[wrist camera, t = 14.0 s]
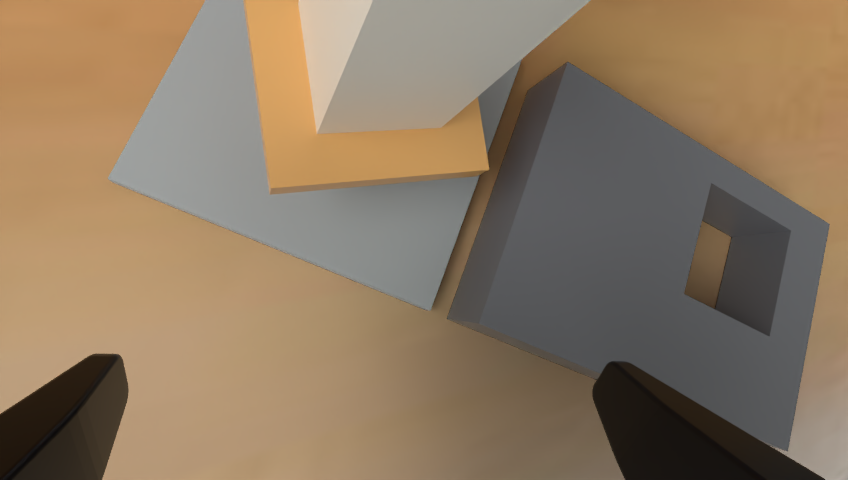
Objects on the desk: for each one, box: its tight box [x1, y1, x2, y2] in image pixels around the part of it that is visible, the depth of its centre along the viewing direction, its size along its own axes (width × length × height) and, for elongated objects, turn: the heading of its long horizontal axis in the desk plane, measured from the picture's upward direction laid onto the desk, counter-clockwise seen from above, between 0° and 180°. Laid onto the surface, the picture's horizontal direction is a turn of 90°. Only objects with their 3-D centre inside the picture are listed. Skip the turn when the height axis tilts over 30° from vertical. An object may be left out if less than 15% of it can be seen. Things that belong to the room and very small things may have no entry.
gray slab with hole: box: [447, 62, 830, 451], centre depth 22 cm, size 11×16×3 cm
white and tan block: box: [243, 0, 590, 195], centre depth 13 cm, size 7×7×12 cm
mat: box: [108, 0, 522, 311], centre depth 19 cm, size 12×12×1 cm
